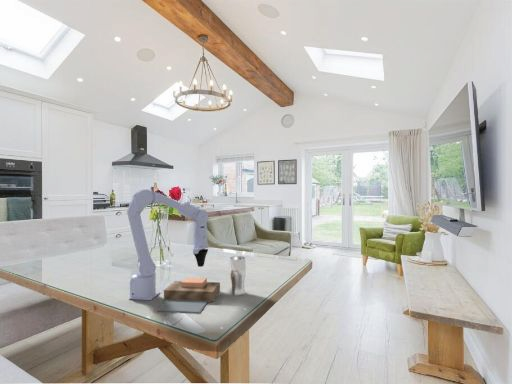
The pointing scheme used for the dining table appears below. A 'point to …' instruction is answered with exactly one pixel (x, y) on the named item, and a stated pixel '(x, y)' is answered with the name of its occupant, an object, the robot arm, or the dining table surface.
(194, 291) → the brown wooden block
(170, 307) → the mat
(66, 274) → the dining table surface
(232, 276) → the beer glass
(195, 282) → the tile
